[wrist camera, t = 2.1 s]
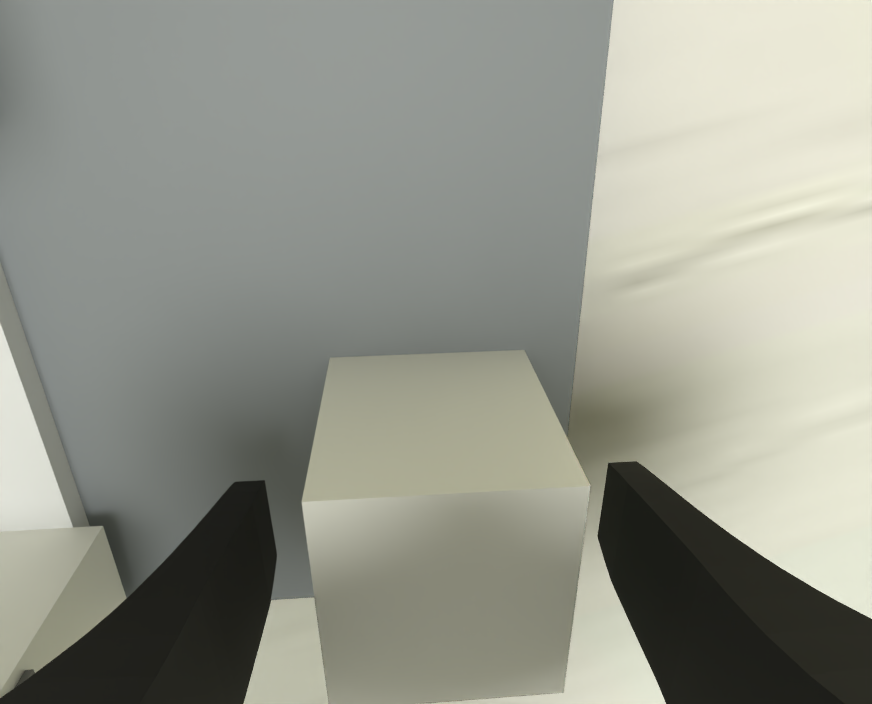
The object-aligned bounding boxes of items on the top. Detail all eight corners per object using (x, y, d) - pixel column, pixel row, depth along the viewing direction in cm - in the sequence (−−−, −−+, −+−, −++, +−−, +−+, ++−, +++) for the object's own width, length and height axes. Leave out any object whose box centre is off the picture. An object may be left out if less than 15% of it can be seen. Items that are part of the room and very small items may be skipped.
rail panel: (542, 551, 18) (621, 795, 12) (-146, 593, 17) (-446, 890, 11) (601, -82, 11) (855, -260, 5) (-558, -91, 10) (-2047, -342, 4)
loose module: (514, 516, 16) (563, 692, 11) (345, 526, 16) (329, 710, 11) (524, 349, 14) (591, 486, 9) (330, 357, 14) (301, 502, 9)
